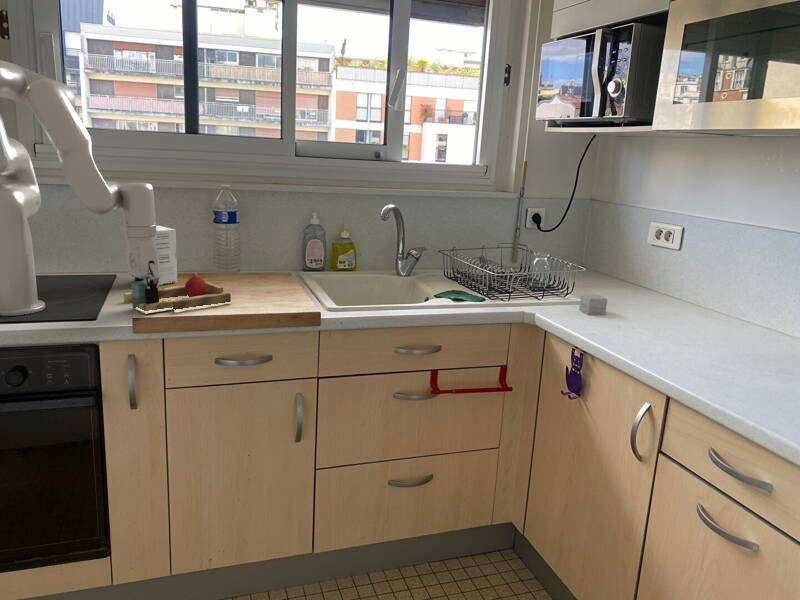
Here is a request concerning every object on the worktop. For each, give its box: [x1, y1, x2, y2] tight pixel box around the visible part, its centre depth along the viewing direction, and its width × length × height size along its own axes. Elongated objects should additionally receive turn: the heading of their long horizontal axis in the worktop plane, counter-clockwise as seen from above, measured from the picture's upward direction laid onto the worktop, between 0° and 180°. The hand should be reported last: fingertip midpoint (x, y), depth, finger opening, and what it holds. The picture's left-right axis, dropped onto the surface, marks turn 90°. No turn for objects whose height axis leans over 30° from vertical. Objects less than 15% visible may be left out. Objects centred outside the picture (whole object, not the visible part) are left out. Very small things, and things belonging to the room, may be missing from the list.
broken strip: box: [123, 284, 185, 304], centre depth 183 cm, size 21×1×2 cm, turn 135°
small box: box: [579, 293, 608, 316], centre depth 188 cm, size 6×6×5 cm
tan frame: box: [131, 280, 224, 311], centre depth 175 cm, size 22×10×7 cm, turn 135°
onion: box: [184, 272, 207, 297], centre depth 180 cm, size 6×6×8 cm
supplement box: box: [147, 225, 178, 284], centre depth 198 cm, size 10×9×17 cm
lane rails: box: [158, 287, 232, 310], centre depth 178 cm, size 16×14×3 cm
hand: (146, 299), depth 169 cm, fingers open, 6 cm apart
